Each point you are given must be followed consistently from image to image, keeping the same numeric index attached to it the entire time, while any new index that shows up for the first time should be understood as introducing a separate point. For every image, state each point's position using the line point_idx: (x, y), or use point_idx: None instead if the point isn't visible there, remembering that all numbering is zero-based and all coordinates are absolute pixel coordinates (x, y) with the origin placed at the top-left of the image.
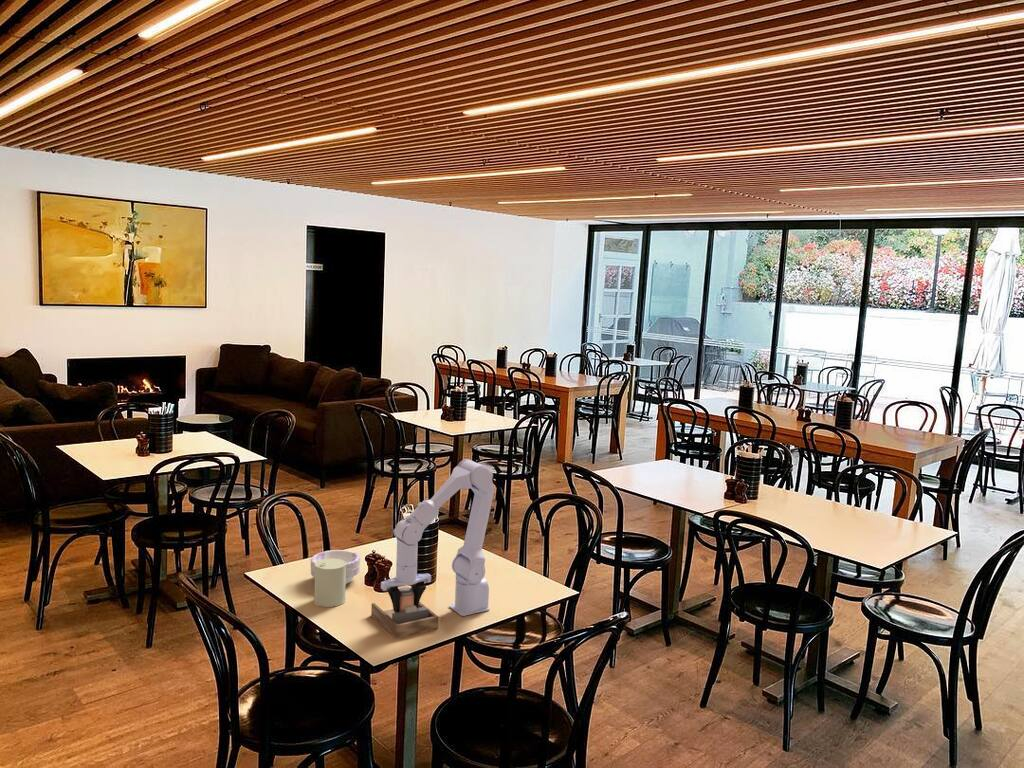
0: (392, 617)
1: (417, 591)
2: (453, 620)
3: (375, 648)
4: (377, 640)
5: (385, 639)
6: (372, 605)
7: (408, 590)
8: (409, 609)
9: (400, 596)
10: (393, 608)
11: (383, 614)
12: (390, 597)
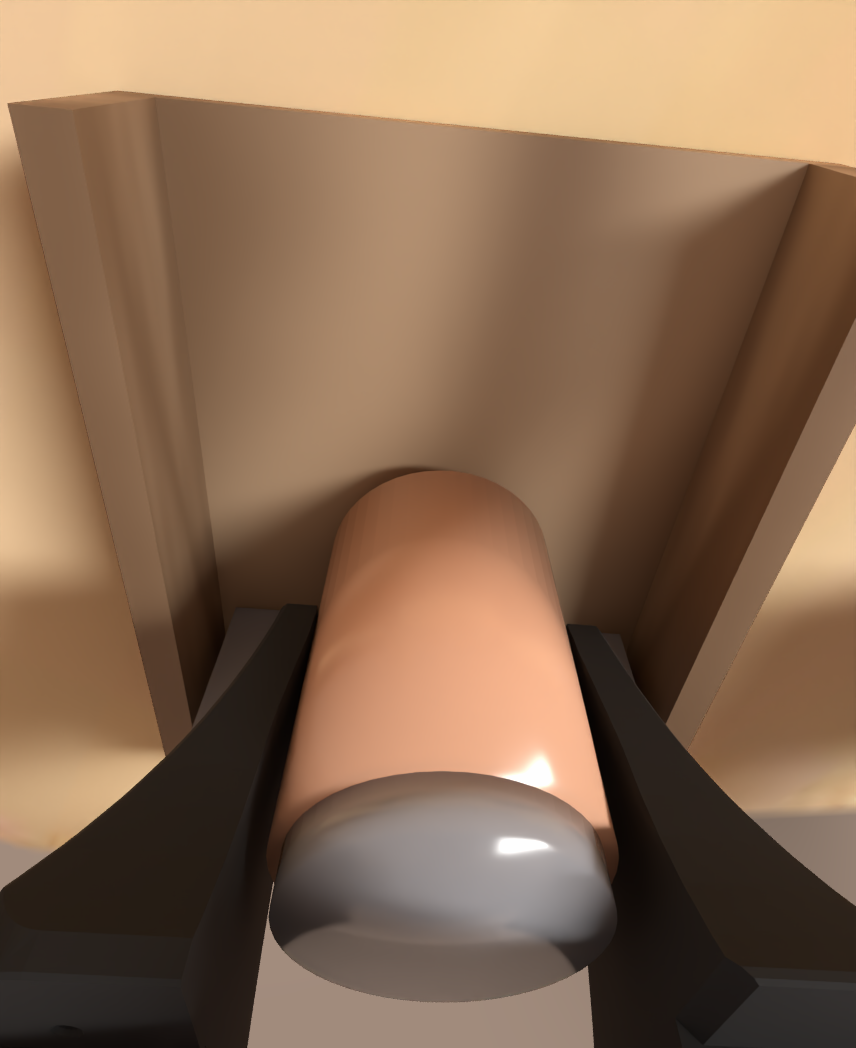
0: (204, 703)
1: (601, 1005)
2: (840, 699)
3: (8, 757)
4: (49, 682)
5: (122, 696)
6: (34, 159)
7: (495, 951)
8: None
9: (255, 980)
10: (272, 627)
11: (128, 585)
12: (172, 754)
